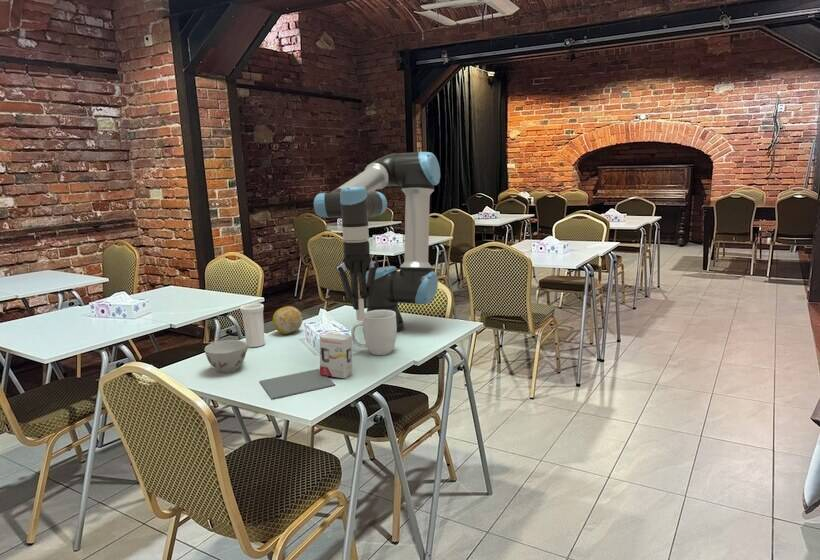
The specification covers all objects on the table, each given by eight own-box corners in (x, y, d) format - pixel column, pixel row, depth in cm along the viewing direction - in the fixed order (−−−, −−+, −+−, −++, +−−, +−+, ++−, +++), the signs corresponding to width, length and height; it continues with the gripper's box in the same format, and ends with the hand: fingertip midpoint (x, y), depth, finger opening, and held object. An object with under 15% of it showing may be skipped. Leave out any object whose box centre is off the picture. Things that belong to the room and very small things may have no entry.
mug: (351, 359, 185) (349, 319, 182) (353, 348, 196) (351, 311, 193) (398, 356, 185) (396, 317, 183) (397, 346, 196) (395, 308, 194)
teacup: (226, 379, 172) (223, 354, 170) (198, 373, 179) (195, 348, 177) (263, 363, 185) (260, 339, 183) (235, 358, 191) (233, 335, 189)
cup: (250, 350, 199) (246, 310, 196) (240, 345, 205) (235, 306, 202) (271, 344, 204) (267, 305, 201) (261, 340, 210) (257, 302, 207)
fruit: (268, 334, 217) (266, 308, 215) (291, 327, 225) (289, 302, 223) (285, 339, 210) (283, 312, 208) (308, 331, 218) (306, 306, 216)
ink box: (318, 375, 171) (317, 336, 168) (327, 370, 175) (326, 332, 173) (345, 379, 167) (344, 339, 165) (353, 373, 172) (352, 335, 170)
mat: (318, 370, 177) (318, 368, 177) (335, 385, 163) (335, 384, 163) (259, 382, 169) (259, 380, 169) (271, 399, 156) (271, 398, 156)
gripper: (371, 237, 174) (375, 313, 178) (330, 241, 168) (335, 320, 172) (381, 239, 167) (385, 319, 171) (339, 244, 161) (344, 325, 166)
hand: (360, 319), depth 172 cm, fingers closed
